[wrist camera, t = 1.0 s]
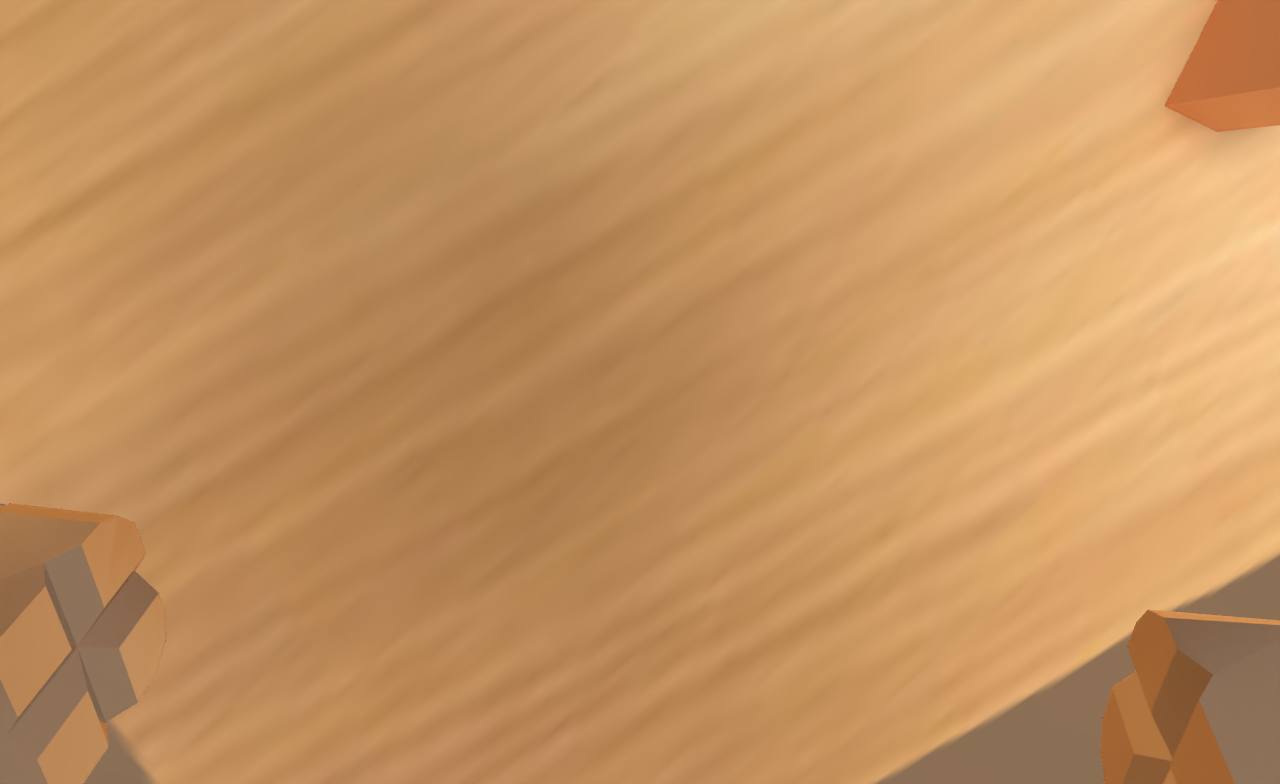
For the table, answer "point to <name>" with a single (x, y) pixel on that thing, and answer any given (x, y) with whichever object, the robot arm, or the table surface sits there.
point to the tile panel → (1233, 68)
